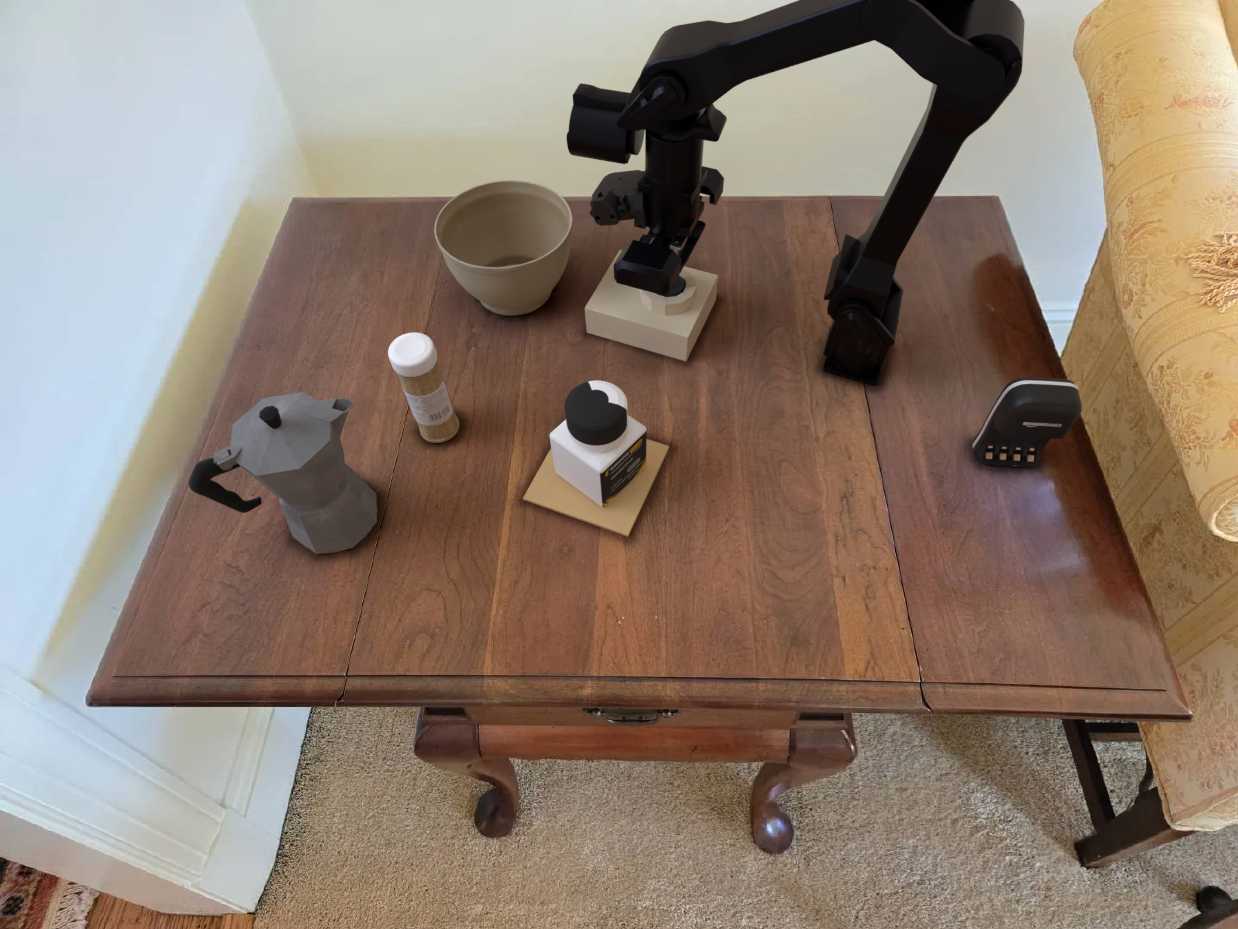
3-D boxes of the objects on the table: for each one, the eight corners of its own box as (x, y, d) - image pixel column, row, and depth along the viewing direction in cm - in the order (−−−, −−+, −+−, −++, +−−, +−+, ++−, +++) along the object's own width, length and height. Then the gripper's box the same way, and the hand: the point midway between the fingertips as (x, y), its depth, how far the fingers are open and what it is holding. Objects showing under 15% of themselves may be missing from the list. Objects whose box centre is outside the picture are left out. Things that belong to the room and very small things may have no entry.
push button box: (715, 300, 98) (719, 263, 93) (686, 361, 92) (688, 326, 87) (620, 274, 101) (619, 237, 96) (586, 332, 95) (583, 296, 90)
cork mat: (669, 448, 85) (669, 445, 85) (628, 537, 79) (628, 535, 79) (570, 416, 88) (569, 414, 88) (523, 500, 82) (522, 498, 82)
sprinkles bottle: (454, 408, 89) (428, 325, 78) (464, 438, 87) (437, 357, 76) (415, 419, 88) (383, 337, 77) (424, 450, 86) (391, 370, 75)
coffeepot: (376, 457, 86) (320, 345, 71) (412, 518, 81) (360, 412, 66) (240, 525, 81) (149, 421, 66) (270, 594, 77) (179, 499, 62)
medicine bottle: (603, 510, 81) (598, 442, 71) (554, 473, 83) (542, 403, 73) (647, 466, 83) (648, 396, 74) (598, 432, 86) (592, 359, 76)
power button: (687, 288, 93) (688, 277, 91) (677, 308, 91) (677, 297, 90) (659, 280, 94) (659, 269, 92) (648, 300, 92) (648, 289, 90)
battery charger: (973, 470, 83) (1016, 404, 73) (968, 441, 85) (1009, 373, 75) (1041, 475, 82) (1093, 409, 73) (1034, 446, 84) (1084, 377, 75)
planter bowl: (603, 293, 99) (600, 224, 90) (500, 356, 93) (485, 289, 84) (529, 231, 106) (518, 161, 97) (428, 286, 100) (408, 217, 91)
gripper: (633, 101, 85) (634, 219, 98) (561, 204, 75) (573, 319, 88) (731, 122, 82) (719, 240, 95) (669, 231, 73) (665, 345, 86)
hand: (668, 283), depth 91 cm, fingers closed, pressing on power button
